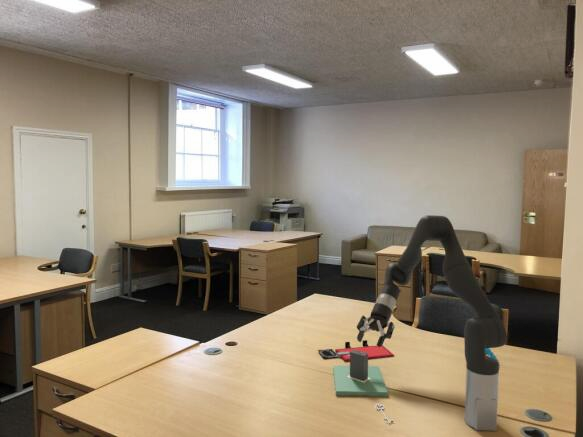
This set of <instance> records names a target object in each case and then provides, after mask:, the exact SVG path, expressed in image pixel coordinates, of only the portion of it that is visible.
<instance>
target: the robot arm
mask: <svg viewBox="0 0 583 437" xmlns="http://www.w3.org/2000/svg"><path fill="white" fill-rule="evenodd" d="M454 229H455V228H454V227H453V224H452V222H451V220H450V219H449V218H448V217H447V216H445V215H444V216H443V215H430V214H429V215H424V216H422V217H421V218H420V219H419V221H418V222H417V224H416V226H415V229H414V231H413V233H412V235H411V237H410V240H409V242H408V245H407V247H406V248H405V250H403V253H402V254H401V255H400V257H398V260H397V261H396V262H397V263H395V262H392V263H389V264H388V265H387V266H386V269H385V273H384V280H383V281H384V282H383V285H382V286H383V287H382V288H381V291H380V293H379V295H378V297H377V298H376V301H375V303H374V306H373V308H372V310H371V312H370V314H369V315H370V316H369V317H366V316H365V315H362V316H361V318H360V319H359V321H358V323H357V325H356V329H357V331H358V333H357V336H356V339H357V341H358V342H359V343H361V342H363V338H364V336H365V333H367V332H370V331H375V332H379V334H380V336H379V338H378V340H377V342H376V346H378V347H381V346H382V345H383V346H384V342H385V340H386V339H387V340H390V339H391V338H392V336H393V332H394V330H395V327H396V326H395V324H394V322H392V321H390V319H391V317H392V314H393V312H394V310H395V307H396V304H397V301H398V298H399V296H400V294H401V290H400V289H401V288H400V287H399V286H407V285H408V284H409V283H410V281H411V278H412V273H413V271H414V269H415V268H416V266H418V264H419V263H420V262H421V259H422V257H423V252H422V245H423V244H424V243H425V242H427V241H432V242H433V241H437V242H440V243H441V245H442V248H443V250H444V257H443V258H444V259H443V262H442V274H443V277H444V279H445V281H446V283H447V286H448V288H449V289H450V290H451V292H452V293H454V295H456V297H458V298H459V299H460V300H462V301H463V302H464V303H465V304H467V306H468V307H470V308H471V309H472V310H473V311H474V313H475V315H476V316H477V317H471V318H469V319H467V320H466V321H465V324H464V330H463V333H464V334H463V337H464V338H463V340H464V341H463V342H464V359H465V362H466V364H465V366H466V368H465V395H464V422H465V423H466V425H468V426H470V427H472V428H473V429H474V430H475V431H488V432H489V431H493V432H494V431H495V432H496V431H497V426H498V406H499V405H498V403H499V402H498V399H499V382H500V381H499V376H500V374H499V373H500V364H499V362H498V361H497V360H498V359H497V360H495V359H494V358H492V357H491V356H490V355H485V349H486V348H489V349H494V348H501V347H503V346H505V345H506V344H507V341H508V333H507V329H506V327H505V324H504V322H503V320H502V319H501V317H500V316H499V314H498V312H497V311H496V309H495V308H494V307H493V304H491V301H489V299H488V297H487V295H486V293H485V292H484V290H483V288H482V286H481V284H480V283H479V281H478V278H477V275H476V274H475V271H474V270H473V267H472V266H471V265H470V262H469V260H468V259H467V257H466V255H465V254H464V251H463V249H462V246H461V245H460V243H459V239H458V237H457V234H456V231H455V230H454ZM396 284H397V285H396ZM398 285H399V286H398ZM385 328H387V329H386V332H385Z"/></svg>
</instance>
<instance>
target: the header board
mask: <svg viewBox="0 0 583 437" xmlns="http://www.w3.org/2000/svg"><path fill="white" fill-rule="evenodd" d="M332 366H333V367H332V369H333V378H334V379H333V380H334V381H333V382H334V390H335V391H336V392H335V396H348V395H366V396H365V397H388V395H389V391H388V388H387V386H386V382H385V380H384V377H383V374H382V371H381V367H380V365H368V379H366V380H365V381H362V380H359V379H356V378H353V377H350V365H337V364H336V365H335V364H333V365H332ZM367 395H368V396H367Z"/></svg>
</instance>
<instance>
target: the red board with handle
mask: <svg viewBox="0 0 583 437" xmlns="http://www.w3.org/2000/svg"><path fill="white" fill-rule="evenodd" d="M344 344H345V345H344V348H335V350H334V349H332V348H328V349H327V348H326V349H318V350H317V351H318V353H319V354H320V355H321V357H322V358H324V359H326V358H334V357H335V358H338V359H342V361H343V362H345V363H347V362H348V363H349V362H350V352H351V351H353V350H357V351H361V352H364V353H368V360H372V359H373V360H374V359H381V358H392V357H395V354H393V353H392V352H391V351H390V350H389V349H388V348H387V347H385V346H384V344H383V345H382V346H381V347H378V346H377V345H371V346H370V345H369V344H368V340H366V339H365V340H364V339H362V346H357V347H356V346H355V347H351V342H350V341H345V342H344Z"/></svg>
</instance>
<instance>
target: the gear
mask: <svg viewBox="0 0 583 437" xmlns="http://www.w3.org/2000/svg"><path fill="white" fill-rule="evenodd" d="M485 355H486V356H489V357H492V358H494V359H495V360H497V361H498V360H499V359H498V358H497V356H496V355H495V354H494V352H493V351H492V350H491V348H486V349H485Z"/></svg>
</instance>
